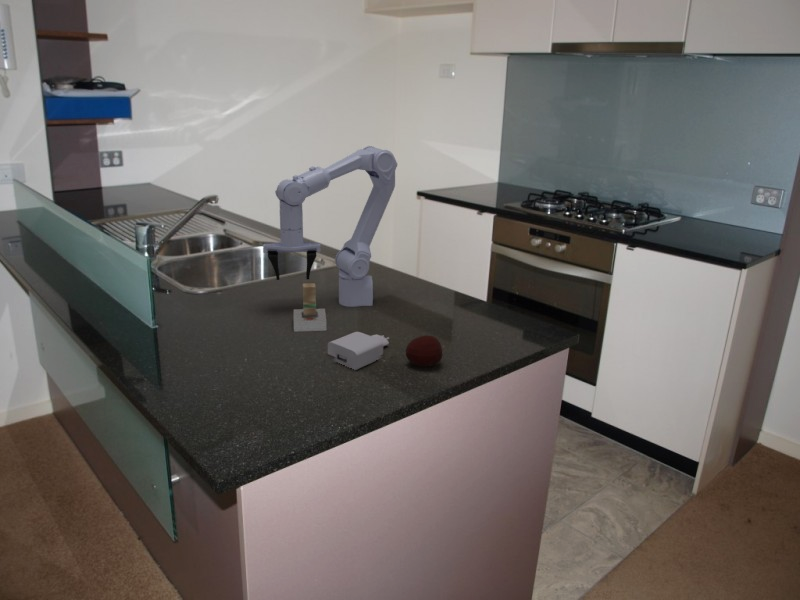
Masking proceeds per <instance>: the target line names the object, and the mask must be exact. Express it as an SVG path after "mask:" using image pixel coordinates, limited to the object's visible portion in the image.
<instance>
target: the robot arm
mask: <svg viewBox="0 0 800 600" xmlns="http://www.w3.org/2000/svg"><path fill="white" fill-rule="evenodd" d="M397 167H398V162H397V160H396V158H395V156H394V154H393V153H392V152H391V151H390V150H388V149H381V148H377V147H374V146H372V145H371V146H370V145H367V146H365V147H363V148H359V149H357V150H356V151H355V152H352V153H351V154H349V155H347V156H346V157H344V158H342V159H340V160H338V161H336V162H335V163H333V164H331V165H329V166H327V167H325V168H322V167H320V166H314V165H313V166H310V167H309V168H308V171H306V172H303V173H301V174H299V175H297V174H295V175H293V176H292V179H289V178H287V179H284V180H281V181H280V182H279V183H278V185H277V186H276V189H275V192H274V193H275V196H276V197H277V199H278V200H279V229H280V230H279V231H280V233H279V234H280V235H279V236H280V242H274V243H273V242H272V243H263V245H262V247H263V249H262V250H263V251H262V253H263V254H267V257H268V260H269V262H270V263H271V265H272V267H273V270H274V273H275V277H276V281H280V278H281V277H280V269H279V268H280V267H279V253H302V252H303V253H306V271H305V272H306V276H305V278H306V280H310V275H311V271H312V267H313V265H314V262H315V260H316V258H317V253H321V252H322V251H321V243H319V242H317V243H316V242H304V223H303V222H304V221H303V219H304V217H303V203H305V200H306V199H307V198H309V197H310V196H312V195H315V194H317V193H319V192H321V191H323V190H325V189H328V187H329V185H330V183H331V181H333V180H335V179H337V178H340V177H342V176H345V175H347V174H350V173H352V172H354V171H357V170H361V171H365V172H366V173H367V174H368V176H369V178H370V180H371V182H372V186H373V187H372V188H371V190H370V193H369V196H368V198H367V200H366V202H365V205H364V208H363V209H362V212H361V214H360V217H359V219H358V222H357V224H356V226H355V229H354V231H353V234H352V236H351V238H350V239H348V240H347V241H346V242H345V243H343V246H342V248H341V249H340V250H339V251H338V252H337V253H336V256H335V257H334V258H335V259H334V263H335V266H336V267H337V268H338V269H339V270H338V271H339V272H338V304H339V305H341V306H343V307H348V308H355V307H361V306H362V307H365V306H366V307H369V306H370V307H371V306H373V300H374V296H373V292H374V286H373V285H374V283H373V276H372V275H370V274H369V275H367V274H368V272H369V270H370V260H371V258H372V252H371V248H370V246H371V243H372V242H373V240H374V237H375V234H376V232H377V231H378V227H379V225H380V222H381V221H382V219H383V217H384V213H385V211H386V209H387V206H388V205H389V202H390V199H391V198H392V194H393V193H394V190H395V187H396V169H397Z"/></svg>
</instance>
